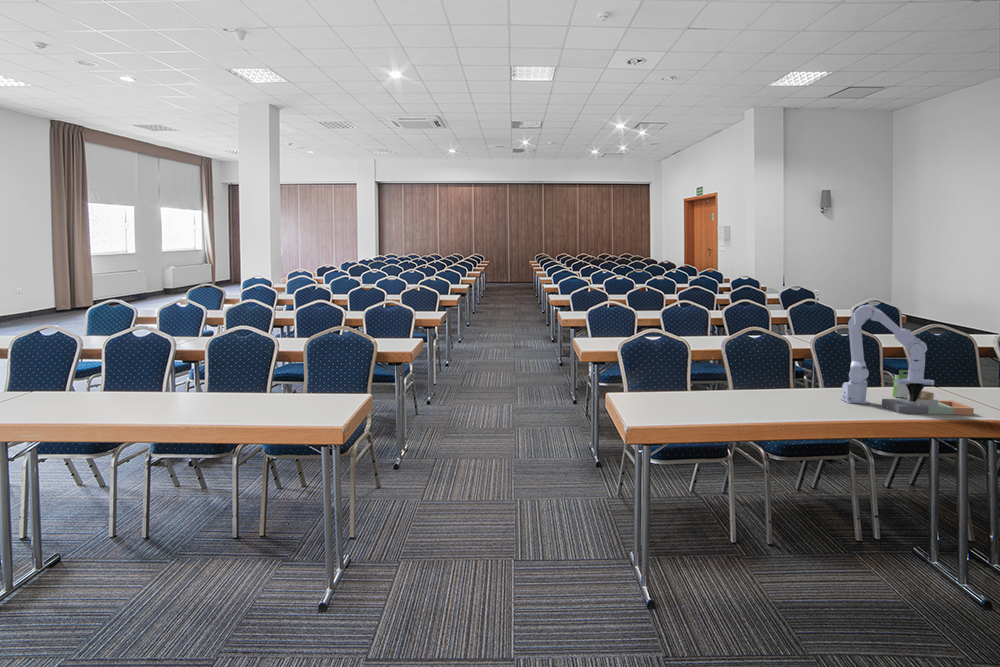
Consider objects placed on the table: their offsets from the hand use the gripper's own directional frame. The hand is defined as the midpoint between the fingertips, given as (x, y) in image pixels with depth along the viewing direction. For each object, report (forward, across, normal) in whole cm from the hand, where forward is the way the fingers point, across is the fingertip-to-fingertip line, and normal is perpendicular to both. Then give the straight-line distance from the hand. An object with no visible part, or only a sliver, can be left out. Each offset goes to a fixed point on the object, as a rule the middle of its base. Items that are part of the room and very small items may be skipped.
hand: (913, 400), depth 280 cm
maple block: (+1, +4, 0) cm, 4 cm away
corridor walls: (+1, +4, 0) cm, 4 cm away
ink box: (+4, +8, +25) cm, 27 cm away
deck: (+4, +6, 0) cm, 7 cm away
